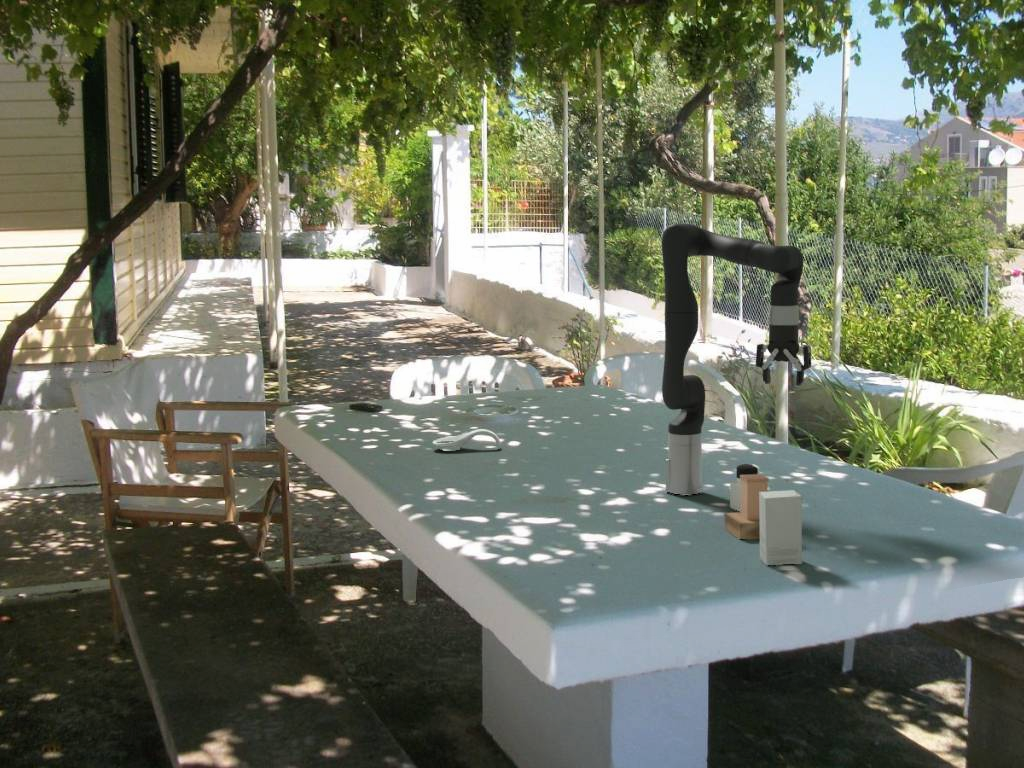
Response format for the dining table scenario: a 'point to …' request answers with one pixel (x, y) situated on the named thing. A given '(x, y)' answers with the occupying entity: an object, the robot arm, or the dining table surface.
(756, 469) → the medicine bottle
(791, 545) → the skincare box
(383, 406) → the dining table surface
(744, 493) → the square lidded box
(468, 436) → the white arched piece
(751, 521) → the teak block
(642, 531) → the dining table surface
